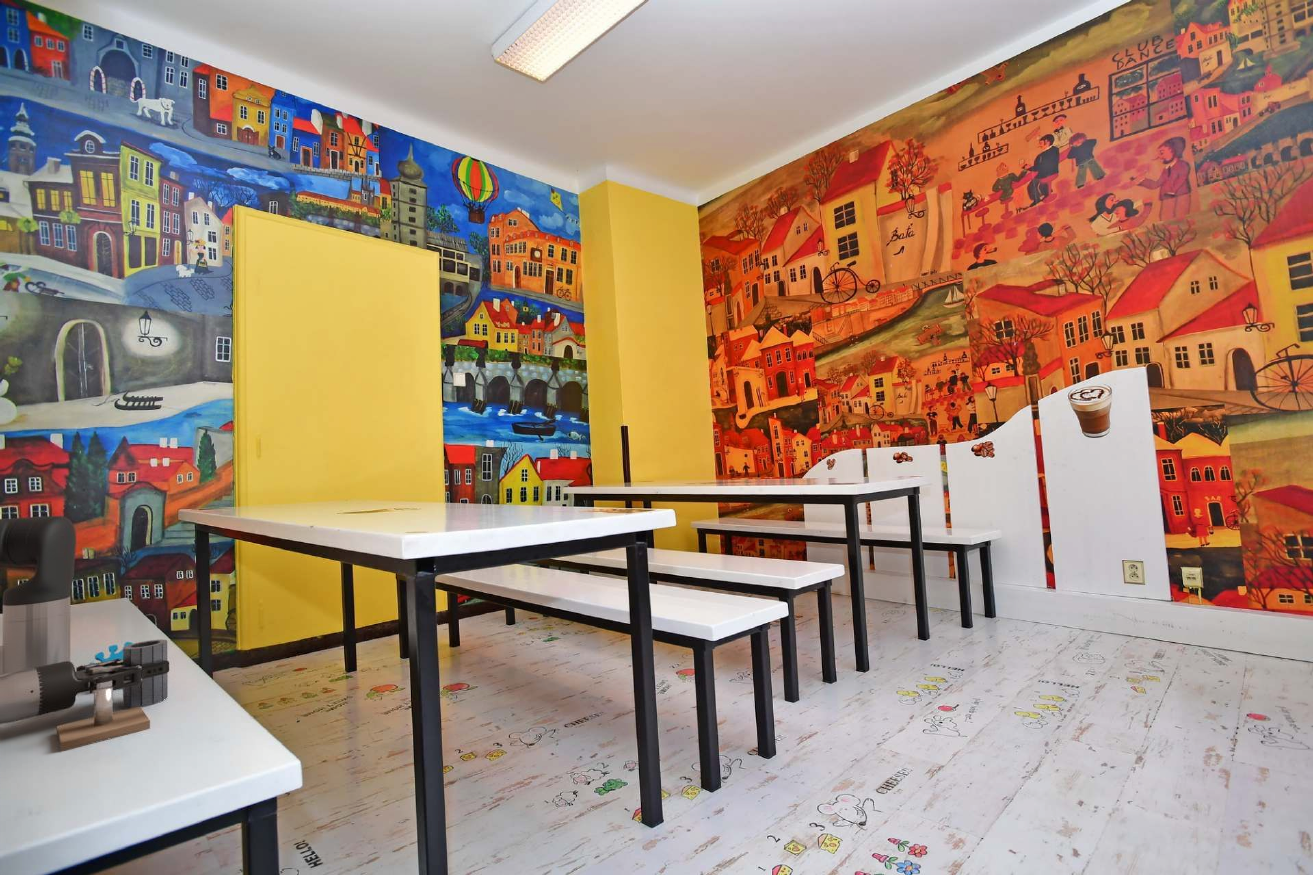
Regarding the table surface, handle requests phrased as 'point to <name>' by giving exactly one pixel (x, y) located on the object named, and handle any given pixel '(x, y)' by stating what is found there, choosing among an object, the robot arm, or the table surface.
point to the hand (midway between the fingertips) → (161, 663)
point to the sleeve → (150, 687)
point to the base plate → (101, 728)
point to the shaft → (103, 706)
